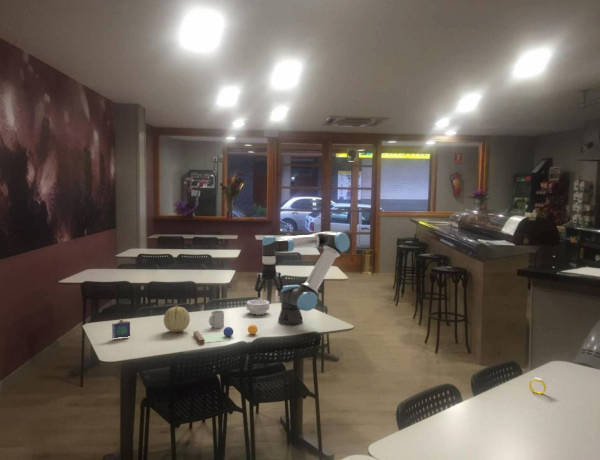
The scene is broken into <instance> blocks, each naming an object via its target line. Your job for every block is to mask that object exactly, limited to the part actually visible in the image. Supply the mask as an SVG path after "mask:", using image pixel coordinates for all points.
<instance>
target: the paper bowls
mask: <svg viewBox="0 0 600 460" xmlns="http://www.w3.org/2000/svg"><path fill="white" fill-rule="evenodd" d="M246 310H247V311H248V312H249V313H250V314H251V315H253V314H256V315H255V316H262V315H265V314H266V313H267V311H269V310H270V301H269V300H265V299H262V304H260V303H259V299H250V300H247V301H246ZM261 314H262V315H261Z"/></svg>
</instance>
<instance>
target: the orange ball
mask: <svg viewBox="0 0 600 460" xmlns="http://www.w3.org/2000/svg"><path fill="white" fill-rule="evenodd" d="M258 329H259V328H258V326H257V325H256V324H250V325H249V326H248V327H247V332H248V333H249V334H250V335H256V334H257V332H258Z"/></svg>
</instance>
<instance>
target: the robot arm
mask: <svg viewBox="0 0 600 460" xmlns="http://www.w3.org/2000/svg"><path fill="white" fill-rule="evenodd" d="M261 241H262V243H261V245H262V248H261V249H262V252H261V253H262V257H261V259H262V267H261V268H262V269H261V270H262V271H261V272H260V273H256V281H255V284H254V291H255V292H257V298H259V299H258V300H259V303H260V304H262V300H263V292H262V289H263V288H264V285H265V283H266V282H267V281H269V280H271V281H272V283H273V284H274V287H275V289H276V290H275V291H274V292H275V294H274V295H275V298H274V299H275V300H274V301H275V303H279V297H281V299H280V303H281V305H280V307H281V309H280V313H279V316H278V321H277V322H278V323H279V324H281V325H285V326H296V325H300V324H302V323H303V322H304V321H303V315H302V312H301V311H305V312H308V311H311V310H313V309H315V307H316V306H317V304H318V294H319V291H318V290H319V287H320V286H321V284H322V283H323V281H324V279H325V278H326V276H327V274H328V272H329V270H330V269H331V267H332V265H334V264H333V263H334V262H335V260H336V258H338V257H340V256H341V255H342V253H344V252H346V251H348V249H349V248H350V244H351V242H350V238H349V236H348V235H347V234H346V233H345V232H341V231H331V230H326V231H320V232H313V233H312V234H306V235H305V234H302V235H291V236H289V235H288V236H275V235H265V236H263V237H262V240H261ZM299 248H313V249H323V252H322V254H321V255H320V256H319V258H318V260H317V262H316V263H315V265H314V267H313V268H312V270H311V272H310V273H309V275H308V277H307V279H306V281H305V282H304V283H301V284H300V285H299V284H287V285H283V283H282V277H281V276H282V272H280V271H278V272H276V268H277V267H276V263H277V261H276V254H277V253H289V252H292V251H294V250H295V249H299ZM261 277H262V279H261ZM275 277H276V278H277V280H276V278H275ZM260 281H261V282H260ZM277 282H278V283H277Z"/></svg>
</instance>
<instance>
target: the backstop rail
mask: <svg viewBox="0 0 600 460" xmlns="http://www.w3.org/2000/svg"><path fill="white" fill-rule="evenodd" d="M193 337H194V338H195V340H196V341H197V343H198V345H201V346H202V345H205V344H206V343H205V340H204V338H203V337H202V334H201V333H200V331H199V330H193Z"/></svg>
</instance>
